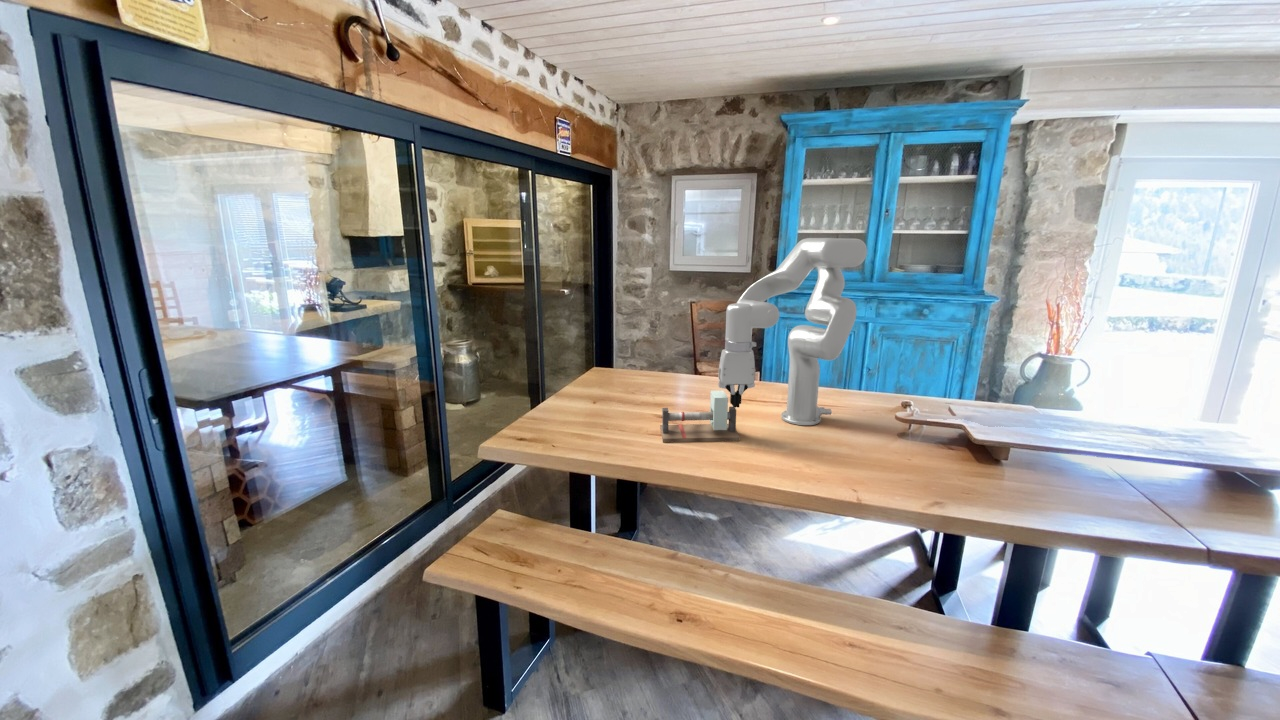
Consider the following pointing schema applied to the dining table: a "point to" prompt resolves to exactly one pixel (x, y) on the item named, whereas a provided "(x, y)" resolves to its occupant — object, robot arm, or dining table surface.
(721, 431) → the rod stand
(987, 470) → the dining table surface
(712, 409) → the sleeve block
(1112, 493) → the dining table surface
